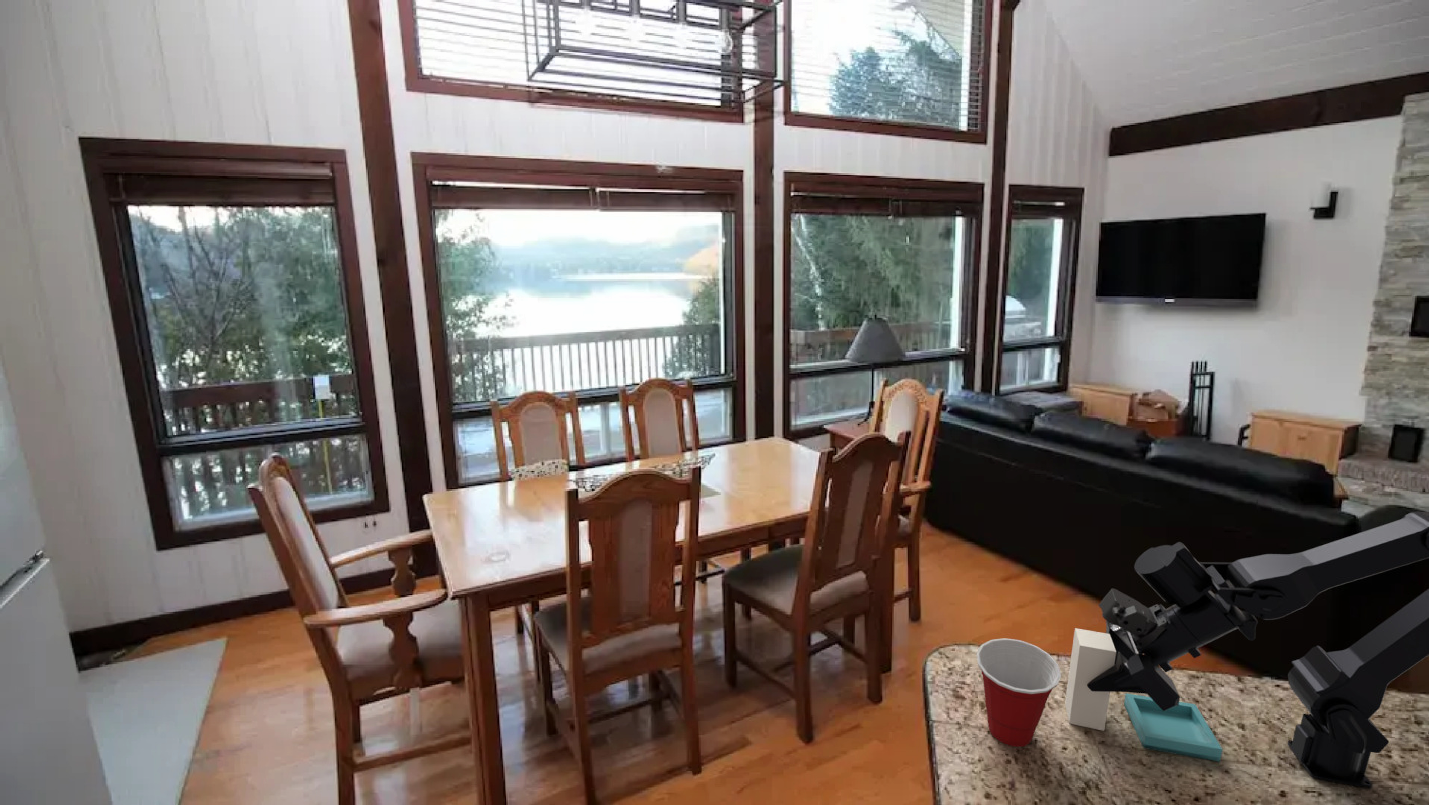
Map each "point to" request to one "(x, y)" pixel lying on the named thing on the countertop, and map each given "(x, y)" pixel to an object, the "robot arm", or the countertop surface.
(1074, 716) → the cream block
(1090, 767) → the countertop surface
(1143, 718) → the teal dish
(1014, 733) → the plastic cup
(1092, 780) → the countertop surface
